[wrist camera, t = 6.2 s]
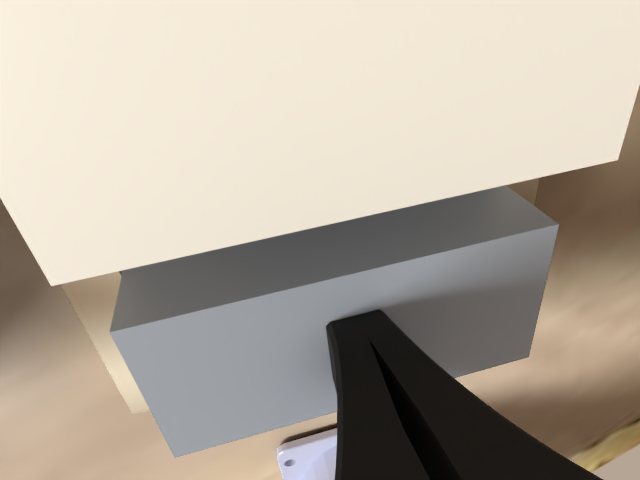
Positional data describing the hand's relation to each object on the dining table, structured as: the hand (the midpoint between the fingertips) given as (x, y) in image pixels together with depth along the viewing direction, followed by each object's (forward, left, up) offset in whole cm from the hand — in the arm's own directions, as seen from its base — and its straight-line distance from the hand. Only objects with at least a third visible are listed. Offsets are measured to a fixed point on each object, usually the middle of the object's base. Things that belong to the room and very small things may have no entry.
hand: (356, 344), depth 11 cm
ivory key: (+6, 0, -3) cm, 7 cm away
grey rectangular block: (0, 0, -4) cm, 4 cm away
